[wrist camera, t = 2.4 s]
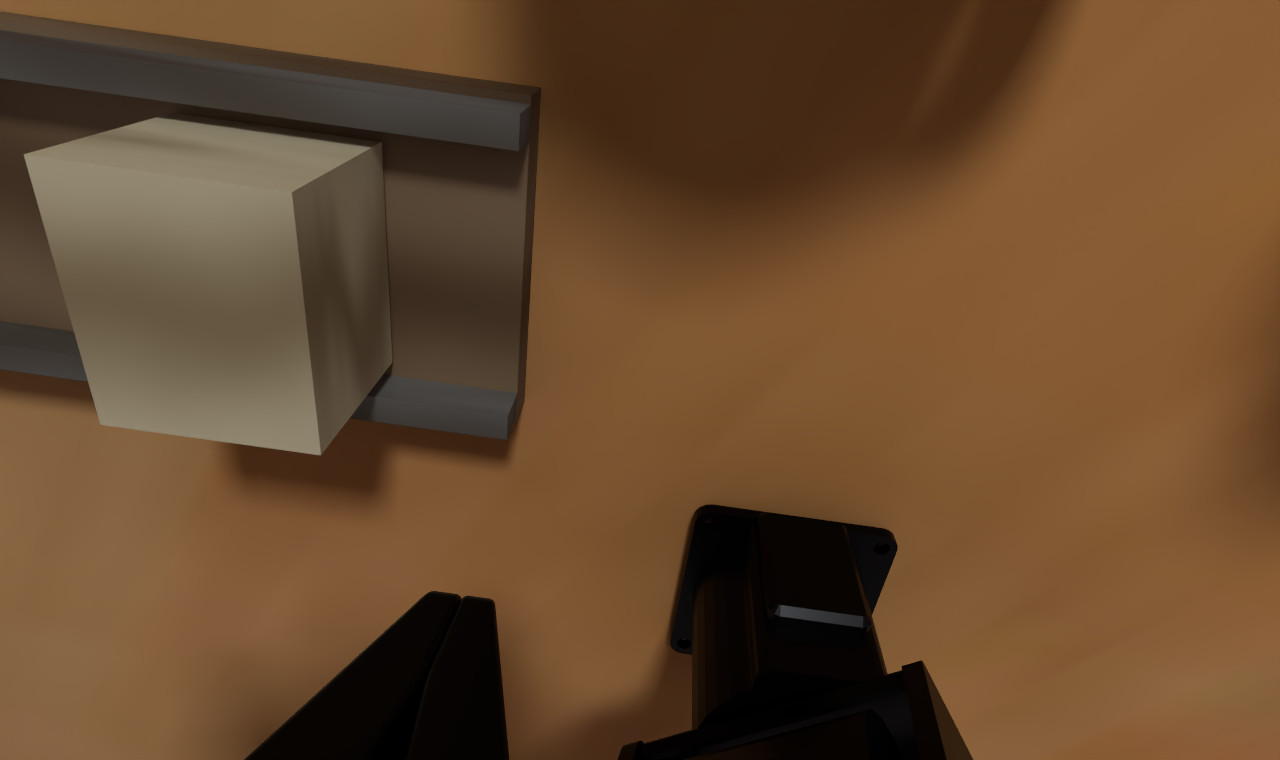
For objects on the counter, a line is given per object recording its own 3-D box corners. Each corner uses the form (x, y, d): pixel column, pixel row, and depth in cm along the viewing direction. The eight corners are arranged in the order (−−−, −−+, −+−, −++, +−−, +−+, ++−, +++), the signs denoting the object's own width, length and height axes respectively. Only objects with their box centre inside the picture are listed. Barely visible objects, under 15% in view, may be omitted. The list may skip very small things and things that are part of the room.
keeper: (392, 362, 21) (321, 455, 17) (214, 337, 21) (100, 424, 17) (381, 141, 18) (291, 191, 14) (173, 112, 18) (23, 154, 14)
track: (524, 401, 22) (469, 539, 17) (-262, 291, 22) (-568, 394, 17) (541, 88, 18) (474, 140, 13) (-440, -50, 18) (-929, -58, 13)
